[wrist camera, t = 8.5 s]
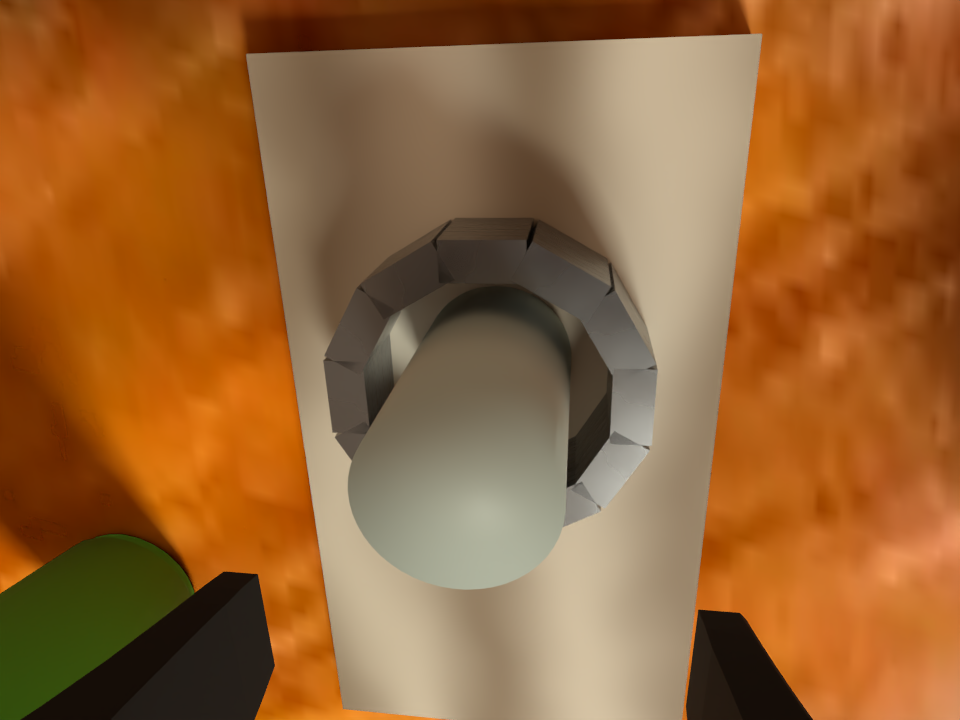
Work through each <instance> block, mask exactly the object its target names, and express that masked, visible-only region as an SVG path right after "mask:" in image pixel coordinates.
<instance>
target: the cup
mask: <svg viewBox="0 0 960 720" xmlns="http://www.w3.org/2000/svg"><path fill="white" fill-rule="evenodd" d="M193 594H194V590H193V587H192V585H191V583H190V581H189V578H188V577H187V575H186V574H185V572H184V571H183V570H182V568H181V567H180V566H179V564H178V563H177V562H175V561H174V560H173V559H172V558H171V557H170V556H169V555H168V554H167V553H165V552H164V551H162V550H161V549H159V548H158V547H156V546H155V545H153V544H151V543H149V542H146V541H144V540H142V539H140V538H136V537H132V536H128V535H123V534H108V535H103V536H99V537H95V538H93V539H89V540H84V541H82V542H80V543H79V544H77V545H75V546H73V547H72V548H70V549H69V550H67V551H65V552H64V553H62V554H61V555H59V556H58V557H56V558H55V559H53V560H52V561H50V562H48V563H47V564H45V565H44V566H42V567H41V568H39V569H38V570H36V571H35V572H33V573H32V574H30V575H28V576H27V577H25V578H24V579H22V580H21V581H19V582H18V583H16V584H15V585H13V586H11V587H10V588H8V589H7V590H5V591H4V592H2V593H1V594H0V720H20V719H22V718H24V717H25V716H27V715H28V714H30V713H31V712H33V711H34V710H36V709H37V708H39V707H40V706H42V705H43V704H45V703H46V702H47V701H49V700H50V699H52V698H53V697H55V696H56V695H57V694H59V693H60V692H62V691H63V690H65V689H66V688H67V687H69V686H70V685H72V684H73V683H75V682H76V681H77V680H79V679H80V678H82V677H83V676H85V675H86V674H87V673H89V672H90V671H92V670H93V669H95V668H96V667H97V666H99V665H100V664H102V663H103V662H105V661H106V660H107V659H109V658H110V657H111V656H113V655H114V654H115V653H117V652H118V651H119V650H121V649H122V648H123V647H125V646H126V645H127V644H129V643H130V642H131V641H133V640H134V639H135V638H137V637H138V636H139V635H141V634H142V633H143V632H145V631H146V630H147V629H149V628H150V627H151V626H153V625H154V624H155V623H157V622H158V621H159V620H161V619H162V618H163V617H164V616H166V615H167V614H168V613H170V612H171V611H172V610H174V609H175V608H176V607H177V606H179V605H180V604H181V603H183V602H184V601H185V600H186V599H188V598H189V597H190V596H192V595H193Z"/></svg>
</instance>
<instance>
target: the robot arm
mask: <svg viewBox="0 0 960 720" xmlns="http://www.w3.org/2000/svg"><path fill="white" fill-rule="evenodd" d="M274 666H275V664H274V659H273V654H272V648H271V643H270V637H269V632H268V627H267V621H266V616H265V611H264V605H263V600H262V595H261V589H260V584H259V579H258V574H248V573H235V572H223V573H221V574H220V575H219V576H217V577H216V578H214V579H213V580H212V581H210V582H209V583H208V584H206V585H205V586H204V587H202V588H201V589H200V590H198V591H197V592H196V593H194V594H193V595H192V596H190V597H189V598H188V599H186V600H185V601H184V602H183V603H181V604H180V605H179V606H177V607H176V608H175V609H174V610H172V611H171V612H170V613H168V614H167V615H166V616H164V617H163V618H162V619H161V620H159V621H158V622H157V623H155V624H154V625H153V626H151V627H150V628H149V629H147V630H146V631H145V632H143V633H142V634H141V635H139V636H138V637H137V638H135V639H134V640H133V641H131V642H130V643H129V644H127V645H126V646H125V647H123V648H122V649H121V650H119V651H118V652H117V653H115V654H114V655H113V656H111V657H110V658H109V659H107V660H106V661H105V662H103V663H102V664H100V665H99V666H97V667H96V668H95V669H93V670H92V671H90V672H89V673H87V674H86V675H85V676H83V677H82V678H80V679H79V680H77V681H76V682H75V683H73V684H72V685H70V686H69V687H67V688H66V689H65V690H63V691H62V692H60V693H59V694H57V695H56V696H55V697H53V698H52V699H50V700H49V701H47V702H46V703H45V704H43V705H42V706H40V707H39V708H37V709H36V710H34V711H33V712H31V713H30V714H28V715H27V716H25V717H24V718H22V719H20V720H254V719H255V717H256V714H257V712H258V709H259V707H260V704H261V702H262V699H263V696H264V694H265V691H266V688H267V685H268V683H269V680H270V677H271V674H272V672H273V669H274ZM686 711H687V720H813V719H812V718H811V716H810V715H809V714H808V712H807V711H806V709H805V708H804V707H803V705H802V704H801V702H800V701H799V700H798V698H797V697H796V695H795V694H794V692H793V691H792V690H791V688H790V687H789V685H788V684H787V682H786V681H785V679H784V678H783V676H782V675H781V673H780V672H779V670H778V669H777V667H776V666H775V664H774V663H773V661H772V660H771V658H770V657H769V655H768V654H767V652H766V651H765V649H764V648H763V646H762V644H761V643H760V641H759V640H758V638H757V636H756V635H755V633H754V632H753V630H752V628H751V627H750V625H749V624H748V622H747V620H746V619H745V618H744V617H743V616H742V615H741V614H740V613H733V612H721V611H708V610H698V618H697V625H696V633H695V641H694V649H693V657H692V664H691V672H690V680H689V688H688V696H687V703H686Z"/></svg>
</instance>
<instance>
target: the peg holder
mask: <svg viewBox="0 0 960 720" xmlns="http://www.w3.org/2000/svg"><path fill="white" fill-rule="evenodd" d="M761 41H762V34H741V35H716V36H690V37H665V38H639V39H614V40H588V41H563V42H537V43H511V44H486V45H460V46H435V47H409V48H384V49H358V50H333V51H307V52H282V53H256V54H246V58H247V64H248V71H249V78H250V85H251V91H252V98H253V105H254V111H255V118H256V125H257V132H258V138H259V145H260V152H261V159H262V165H263V172H264V179H265V186H266V192H267V199H268V206H269V213H270V219H271V226H272V233H273V239H274V246H275V253H276V260H277V266H278V273H279V280H280V287H281V293H282V300H283V307H284V314H285V320H286V327H287V334H288V340H289V347H290V354H291V361H292V367H293V374H294V381H295V388H296V394H297V401H298V408H299V415H300V421H301V428H302V435H303V441H304V448H305V455H306V462H307V468H308V475H309V482H310V489H311V495H312V502H313V509H314V516H315V522H316V529H317V536H318V542H319V549H320V556H321V563H322V569H323V576H324V583H325V590H326V596H327V603H328V610H329V617H330V623H331V630H332V637H333V643H334V650H335V657H336V664H337V670H338V677H339V684H340V691H341V697H342V704H343V709H349V710H359V711H369V712H379V713H389V714H399V715H409V716H419V717H429V718H439V719H449V720H682V715H683V706H684V697H685V689H686V680H687V672H688V663H689V655H690V646H691V638H692V629H693V621H694V612H695V604H696V595H697V587H698V578H699V570H700V561H701V552H702V544H703V535H704V527H705V518H706V510H707V501H708V493H709V484H710V476H711V467H712V459H713V450H714V442H715V433H716V425H717V416H718V407H719V399H720V390H721V382H722V373H723V365H724V356H725V348H726V339H727V331H728V322H729V314H730V305H731V297H732V288H733V280H734V271H735V262H736V254H737V245H738V237H739V228H740V220H741V211H742V203H743V194H744V186H745V177H746V169H747V160H748V152H749V143H750V134H751V126H752V117H753V109H754V100H755V92H756V83H757V75H758V66H759V58H760V49H761ZM487 286H505V287H512V288H515V289H519V290H522V291H525V292H527V293H530V294H531V295H533V296H535V297H537V298H539V299H540V300H541V301H543V302H544V303H545V304H547V305H548V306H549V307H550V308H551V309H552V310H553V311H554V313H555V314H556V315H557V316H558V318H559V319H560V321H561V322H562V324H563V326H564V328H565V330H566V332H567V335H568V338H569V342H570V347H571V377H570V404H569V431H568V458H567V485H566V512H565V519H564V524H563V528H562V531H561V534H560V536H559V539H558V540H557V542H556V544H555V546H554V548H553V549H552V550H551V552H550V553H549V554H548V556H547V557H546V558H545V559H544V560H543V561H542V562H541V563H540V564H539V565H538V566H537V567H535V568H534V569H533V570H531V571H530V572H529V573H527V574H525V575H524V576H522V577H520V578H518V579H516V580H514V581H511V582H509V583H506V584H503V585H499V586H495V587H491V588H484V589H471V590H464V589H451V588H446V587H440V586H436V585H433V584H429V583H426V582H423V581H421V580H418V579H416V578H413V577H411V576H410V575H408V574H406V573H404V572H402V571H400V570H399V569H397V568H396V567H394V566H393V565H391V564H390V563H389V562H388V561H386V560H385V559H384V558H383V557H381V556H380V555H379V554H378V553H377V552H376V551H375V549H374V548H373V547H372V546H371V545H370V544H369V542H368V541H367V540H366V539H365V537H364V536H363V534H362V532H361V531H360V529H359V527H358V526H357V523H356V521H355V519H354V516H353V514H352V510H351V507H350V503H349V497H348V475H349V470H350V465H351V462H352V459H353V457H354V454H355V452H356V450H357V449H358V447H359V445H360V443H361V441H362V440H363V438H364V436H365V435H366V433H367V431H368V430H369V428H370V426H371V425H372V423H373V421H374V420H375V418H376V416H377V415H378V413H379V411H380V410H381V408H382V407H383V405H384V403H385V402H386V400H387V398H388V397H389V395H390V393H391V392H392V390H393V388H394V387H395V385H396V383H397V382H398V380H399V378H400V377H401V375H402V373H403V372H404V370H405V368H406V367H407V365H408V363H409V362H410V360H411V358H412V357H413V355H414V353H415V352H416V350H417V348H418V347H419V345H420V343H421V342H422V340H423V338H424V337H425V335H426V333H427V332H428V330H429V328H430V327H431V325H432V323H433V322H434V320H435V318H436V317H437V315H438V314H439V313H440V311H441V310H442V309H443V308H444V307H445V306H446V305H447V304H448V303H449V302H450V301H452V300H453V299H454V298H456V297H458V296H459V295H461V294H463V293H465V292H467V291H470V290H472V289H476V288H480V287H487Z"/></svg>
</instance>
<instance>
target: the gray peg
mask: <svg viewBox="0 0 960 720" xmlns="http://www.w3.org/2000/svg"><path fill="white" fill-rule="evenodd" d="M570 377H571V347H570V342H569V338H568V335H567V332H566V330H565V328H564V326H563V324H562V322H561V321H560V319H559V318H558V316H557V315H556V314H555V313H554V311H553V310H552V309H551V308H550V307H549V306H548V305H547V304H545V303H544V302H543V301H541V300H540V299H539V298H537V297H535V296H533V295H531V294H530V293H527V292H525V291H522V290H519V289H515V288H512V287H505V286H487V287H480V288H476V289H472V290H470V291H467V292H465V293H463V294H461V295H459V296H458V297H456V298H454V299H453V300H452V301H450V302H449V303H448V304H447V305H446V306H445V307H444V308H443V309H442V310H441V311H440V313H439V314H438V315H437V317H436V318H435V320H434V322H433V323H432V325H431V327H430V328H429V330H428V332H427V333H426V335H425V337H424V338H423V340H422V342H421V343H420V345H419V347H418V348H417V350H416V352H415V353H414V355H413V357H412V358H411V360H410V362H409V363H408V365H407V367H406V368H405V370H404V372H403V373H402V375H401V377H400V378H399V380H398V382H397V383H396V385H395V387H394V388H393V390H392V392H391V393H390V395H389V397H388V398H387V400H386V402H385V403H384V405H383V407H382V408H381V410H380V411H379V413H378V415H377V416H376V418H375V420H374V421H373V423H372V425H371V426H370V428H369V430H368V431H367V433H366V435H365V436H364V438H363V440H362V441H361V443H360V445H359V447H358V449H357V450H356V452H355V454H354V457H353V459H352V462H351V465H350V470H349V475H348V497H349V503H350V507H351V510H352V514H353V516H354V519H355V521H356V523H357V526H358V527H359V529H360V531H361V532H362V534H363V536H364V537H365V539H366V540H367V541H368V542H369V544H370V545H371V546H372V547H373V548H374V549H375V551H376V552H377V553H378V554H379V555H380V556H381V557H383V558H384V559H385V560H386V561H388V562H389V563H390V564H391V565H393V566H394V567H396V568H397V569H399V570H400V571H402V572H404V573H406V574H408V575H410V576H411V577H413V578H416V579H418V580H421V581H423V582H426V583H429V584H433V585H436V586H440V587H446V588H451V589H464V590H471V589H484V588H491V587H495V586H499V585H503V584H506V583H509V582H511V581H514V580H516V579H518V578H520V577H522V576H524V575H525V574H527V573H529V572H530V571H531V570H533V569H534V568H535V567H537V566H538V565H539V564H540V563H541V562H542V561H543V560H544V559H545V558H546V557H547V556H548V554H549V553H550V552H551V550H552V549H553V548H554V546H555V544H556V542H557V540H558V539H559V536H560V534H561V531H562V528H563V524H564V519H565V512H566V485H567V458H568V431H569V404H570Z"/></svg>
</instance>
